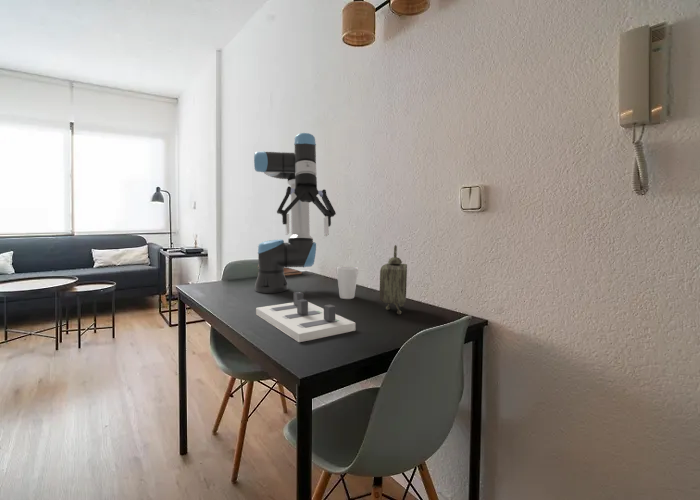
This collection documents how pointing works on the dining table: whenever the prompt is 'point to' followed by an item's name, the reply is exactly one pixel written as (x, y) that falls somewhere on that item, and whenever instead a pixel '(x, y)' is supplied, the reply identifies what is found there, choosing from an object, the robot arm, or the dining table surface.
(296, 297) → the handle
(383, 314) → the dining table surface
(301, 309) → the handle
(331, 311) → the handle
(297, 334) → the breaker panel
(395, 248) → the tabletop clock
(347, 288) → the foam cup
